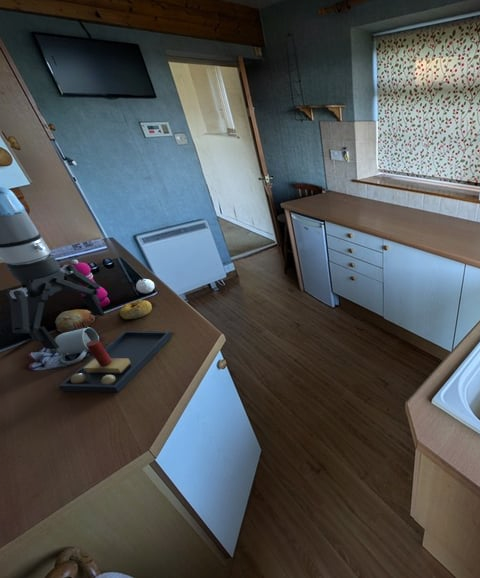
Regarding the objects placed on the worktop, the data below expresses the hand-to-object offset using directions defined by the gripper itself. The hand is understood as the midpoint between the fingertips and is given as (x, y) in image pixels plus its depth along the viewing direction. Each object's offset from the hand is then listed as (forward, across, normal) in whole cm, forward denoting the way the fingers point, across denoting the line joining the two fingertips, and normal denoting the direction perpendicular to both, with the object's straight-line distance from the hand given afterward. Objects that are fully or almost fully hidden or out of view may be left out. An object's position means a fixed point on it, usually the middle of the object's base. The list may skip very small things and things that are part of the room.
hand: (77, 330), depth 78 cm
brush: (+16, +1, 0) cm, 16 cm away
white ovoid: (+14, +45, +20) cm, 51 cm away
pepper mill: (+18, +36, +32) cm, 51 cm away
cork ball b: (+15, -4, -4) cm, 16 cm away
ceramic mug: (+18, +9, +16) cm, 25 cm away
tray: (+17, +6, 0) cm, 18 cm away
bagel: (+18, +31, +14) cm, 38 cm away
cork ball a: (+15, -4, +4) cm, 16 cm away
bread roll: (+18, +23, +30) cm, 41 cm away
